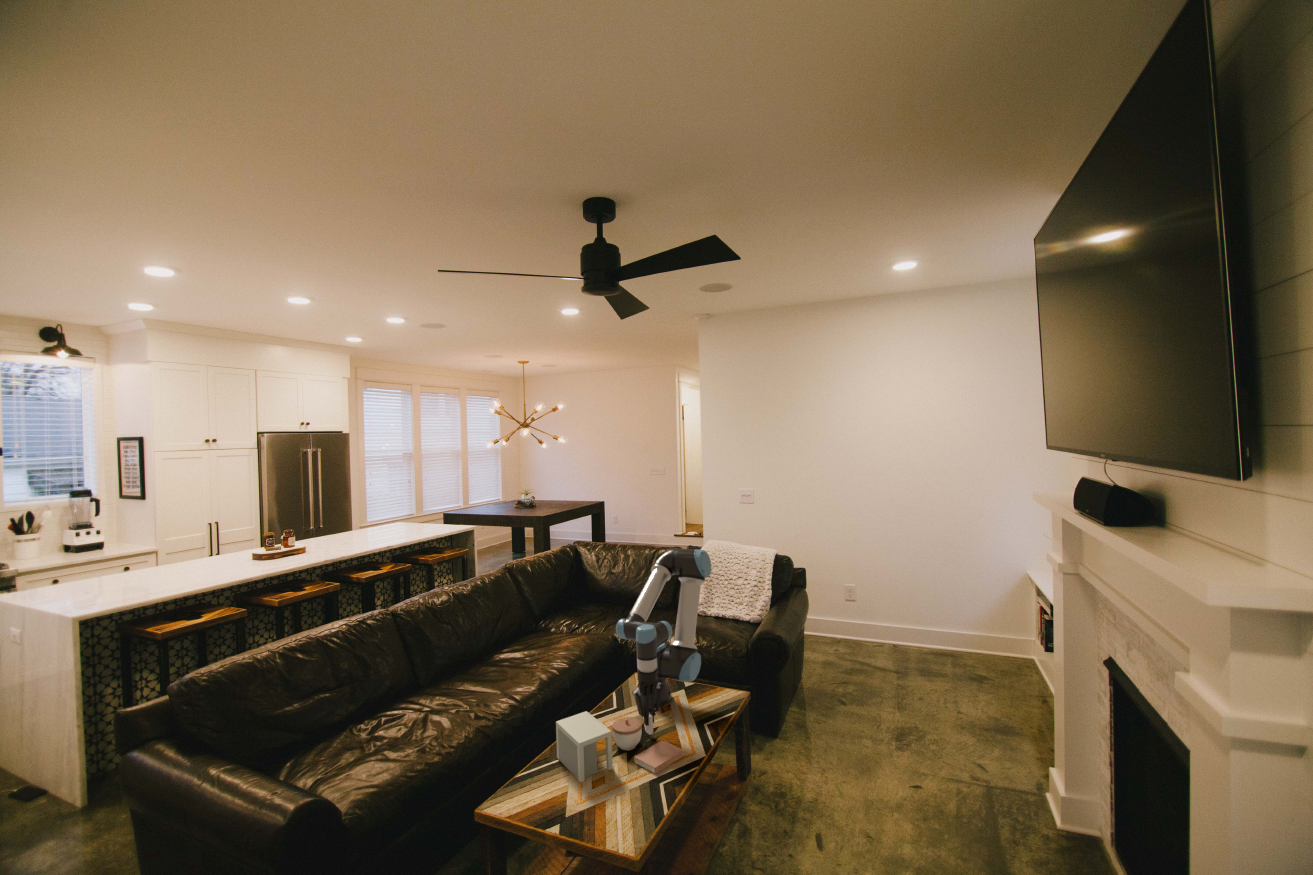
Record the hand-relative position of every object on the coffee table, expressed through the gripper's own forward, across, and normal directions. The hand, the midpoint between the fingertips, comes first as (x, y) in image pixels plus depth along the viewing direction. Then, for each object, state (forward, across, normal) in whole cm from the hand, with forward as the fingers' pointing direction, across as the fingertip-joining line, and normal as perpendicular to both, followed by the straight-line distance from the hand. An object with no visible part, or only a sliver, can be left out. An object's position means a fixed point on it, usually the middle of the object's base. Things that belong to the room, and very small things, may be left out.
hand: (649, 732), depth 200 cm
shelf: (+2, +27, 0) cm, 27 cm away
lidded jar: (+2, +10, 0) cm, 10 cm away
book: (+2, +6, +14) cm, 15 cm away
